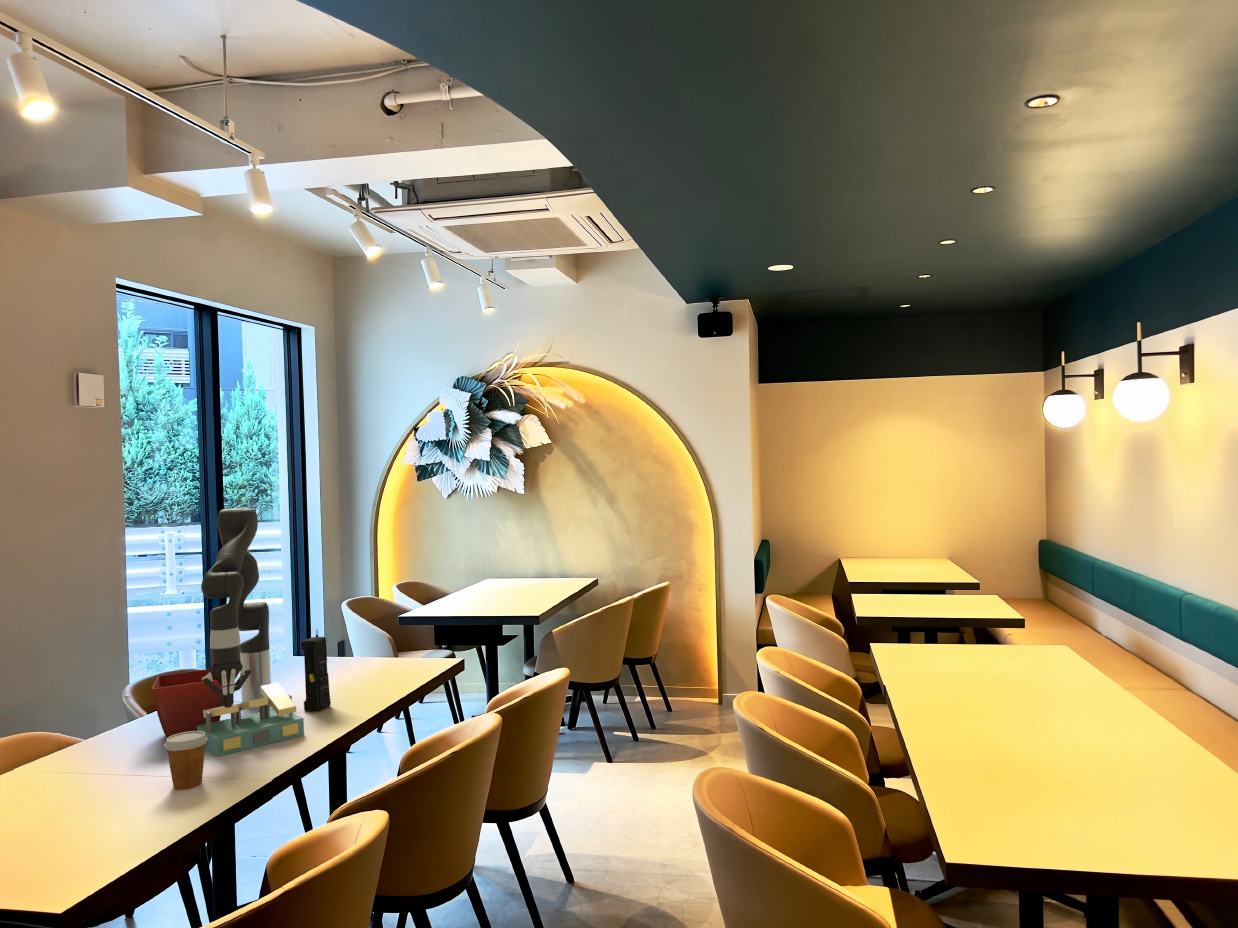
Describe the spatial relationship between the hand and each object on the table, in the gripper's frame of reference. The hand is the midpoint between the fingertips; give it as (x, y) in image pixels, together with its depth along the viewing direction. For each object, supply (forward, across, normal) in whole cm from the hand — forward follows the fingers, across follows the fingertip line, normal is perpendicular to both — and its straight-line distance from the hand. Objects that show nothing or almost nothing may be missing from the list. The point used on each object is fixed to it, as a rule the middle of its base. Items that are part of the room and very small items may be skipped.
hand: (227, 707), depth 236 cm
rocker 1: (+2, 0, -6) cm, 7 cm away
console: (+12, -8, -6) cm, 16 cm away
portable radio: (+12, -34, -22) cm, 42 cm away
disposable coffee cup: (+12, +16, +20) cm, 28 cm away
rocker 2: (+3, -8, -6) cm, 10 cm away
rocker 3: (+2, -16, -6) cm, 17 cm away
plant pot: (+12, +2, -26) cm, 29 cm away
